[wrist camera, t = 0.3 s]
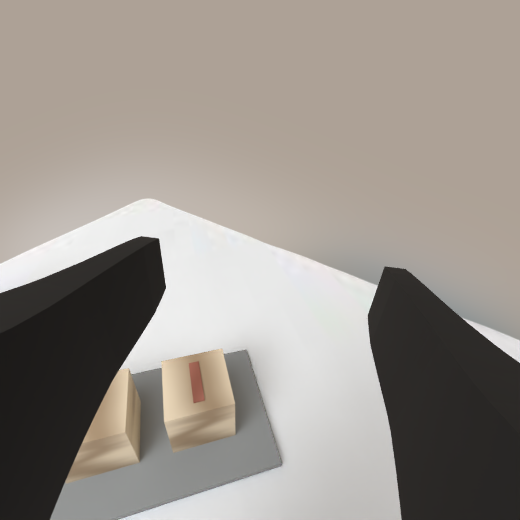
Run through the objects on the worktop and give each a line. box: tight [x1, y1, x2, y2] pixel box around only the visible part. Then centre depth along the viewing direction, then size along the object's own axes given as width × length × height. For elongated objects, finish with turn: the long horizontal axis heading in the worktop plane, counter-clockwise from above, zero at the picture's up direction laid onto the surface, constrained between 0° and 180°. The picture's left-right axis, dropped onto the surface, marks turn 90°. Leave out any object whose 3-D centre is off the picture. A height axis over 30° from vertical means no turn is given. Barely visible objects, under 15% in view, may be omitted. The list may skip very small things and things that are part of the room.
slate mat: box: [50, 350, 282, 520], centre depth 25 cm, size 26×11×1 cm, turn 106°
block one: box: [161, 349, 235, 453], centre depth 25 cm, size 5×5×5 cm
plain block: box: [65, 368, 141, 484], centre depth 23 cm, size 5×5×5 cm
